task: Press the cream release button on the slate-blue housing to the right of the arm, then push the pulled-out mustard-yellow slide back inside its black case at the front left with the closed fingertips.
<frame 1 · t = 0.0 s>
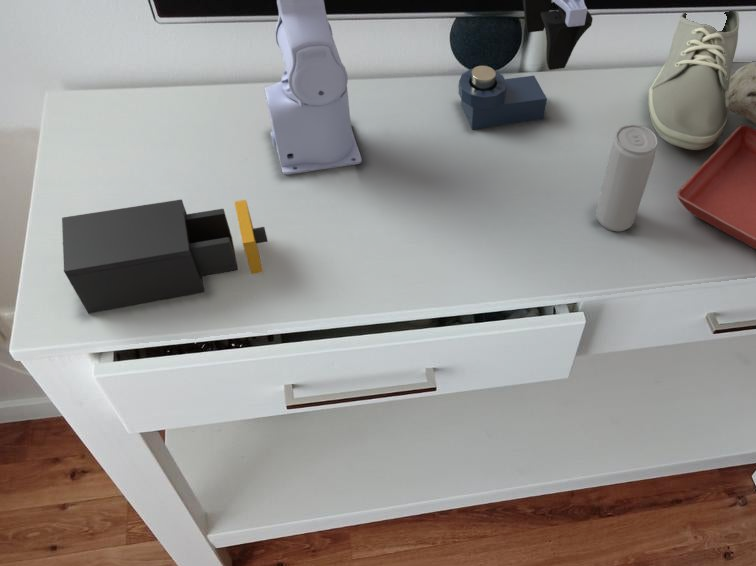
hand: (545, 48, 94), 10 cm above the table, tool pointing down, fingers open, 7 cm apart
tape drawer: (209, 243, 81), point 3 cm above the table, slide at 5.0 cm
release button: (483, 78, 97), point 5 cm above the table, slide at 0.1 cm
sneaker: (688, 96, 109), on the table
beverage can: (614, 220, 93), on the table
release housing: (502, 112, 103), on the table
tape case: (144, 276, 82), on the table
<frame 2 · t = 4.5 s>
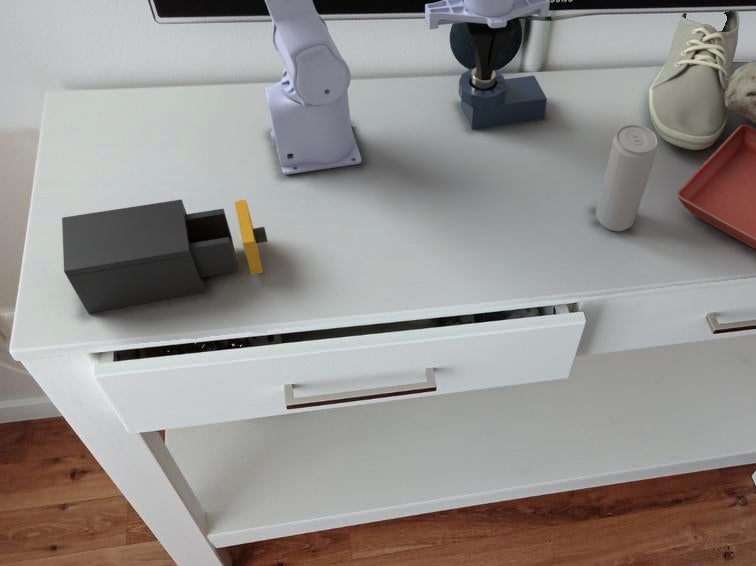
hand: (483, 73, 97), 6 cm above the table, tool pointing down, fingers closed, pressing on release button
release button: (483, 79, 97), point 5 cm above the table, slide at 0.0 cm, touching gripper
everything else where it was.
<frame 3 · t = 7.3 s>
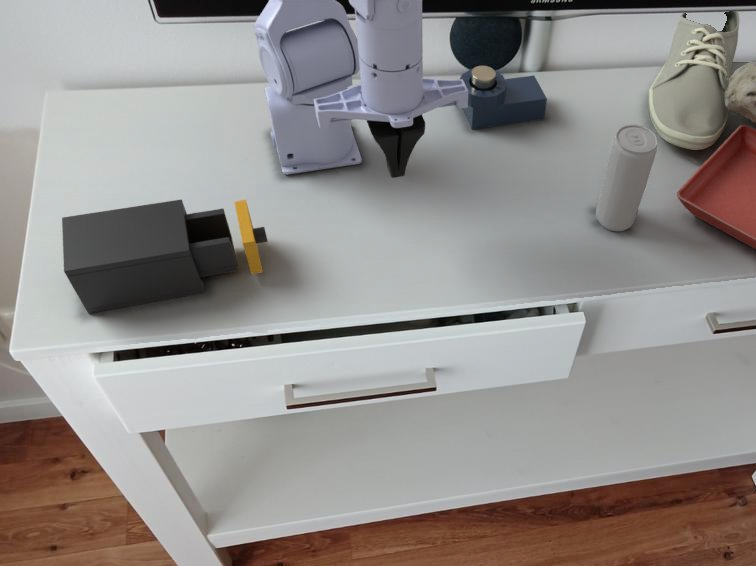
hand: (395, 170, 81), 9 cm above the table, tool pointing down, fingers closed
release button: (483, 78, 97), point 5 cm above the table, slide at 0.1 cm
everything else where it was.
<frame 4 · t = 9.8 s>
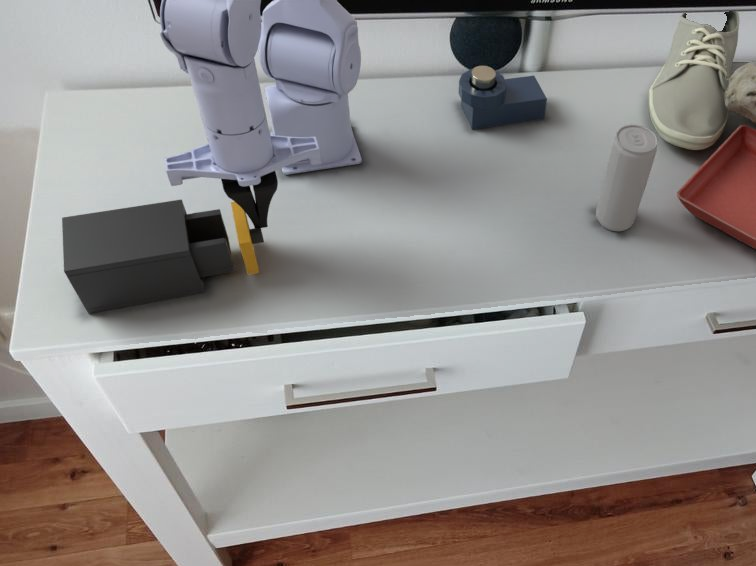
hand: (260, 221, 83), 3 cm above the table, tool pointing down, fingers closed
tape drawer: (205, 244, 81), point 3 cm above the table, slide at 4.6 cm, touching gripper
everything else where it was.
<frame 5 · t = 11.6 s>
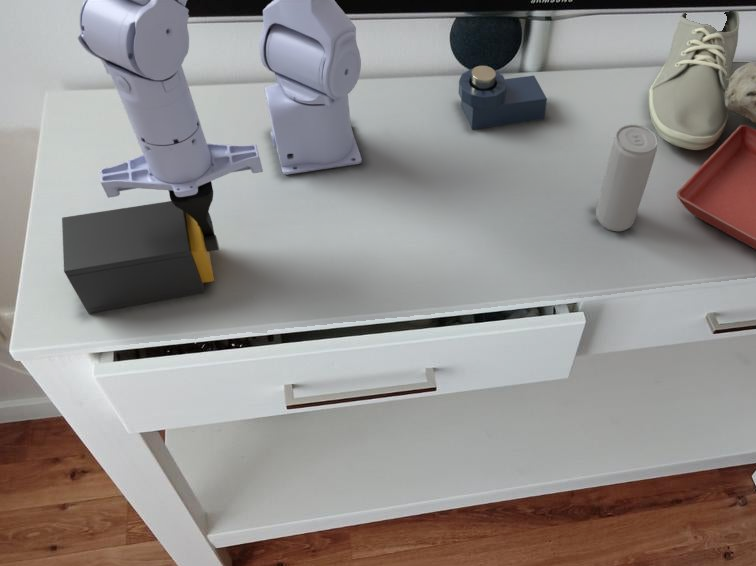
hand: (205, 230, 82), 3 cm above the table, tool pointing down, fingers closed, pressing on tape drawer
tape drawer: (159, 252, 80), point 3 cm above the table, slide at 0.0 cm, touching gripper, tape case
everything else where it was.
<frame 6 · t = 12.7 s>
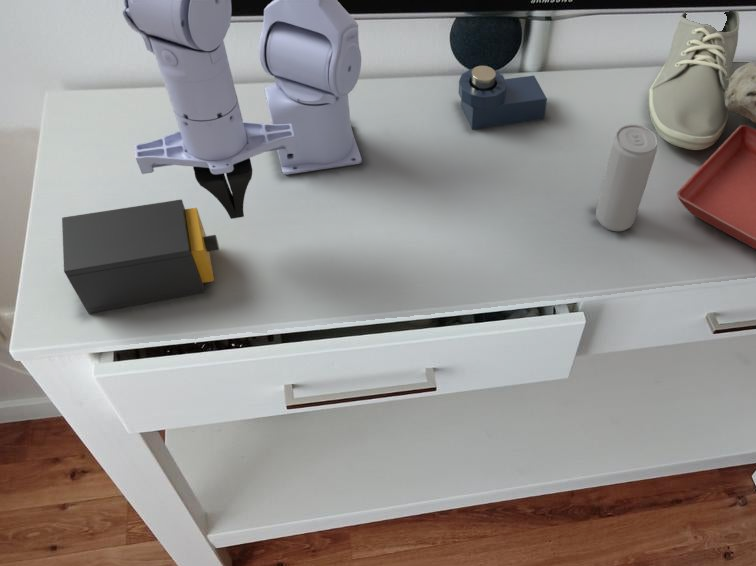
hand: (236, 211, 81), 5 cm above the table, tool pointing down, fingers closed
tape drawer: (159, 252, 80), point 3 cm above the table, slide at 0.0 cm, touching tape case
everything else where it was.
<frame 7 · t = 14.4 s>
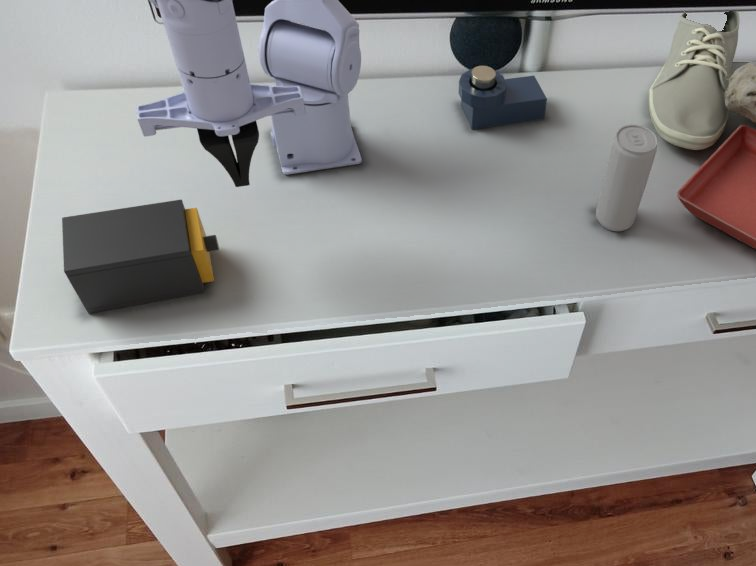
hand: (241, 179, 78), 9 cm above the table, tool pointing down, fingers closed
nothing on the table moved.
at the end: release button pushed in 1.2 cm at the most during the clip, back to where it started at the end; release button slide at 0.1 cm; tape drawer slide at 0.0 cm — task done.
